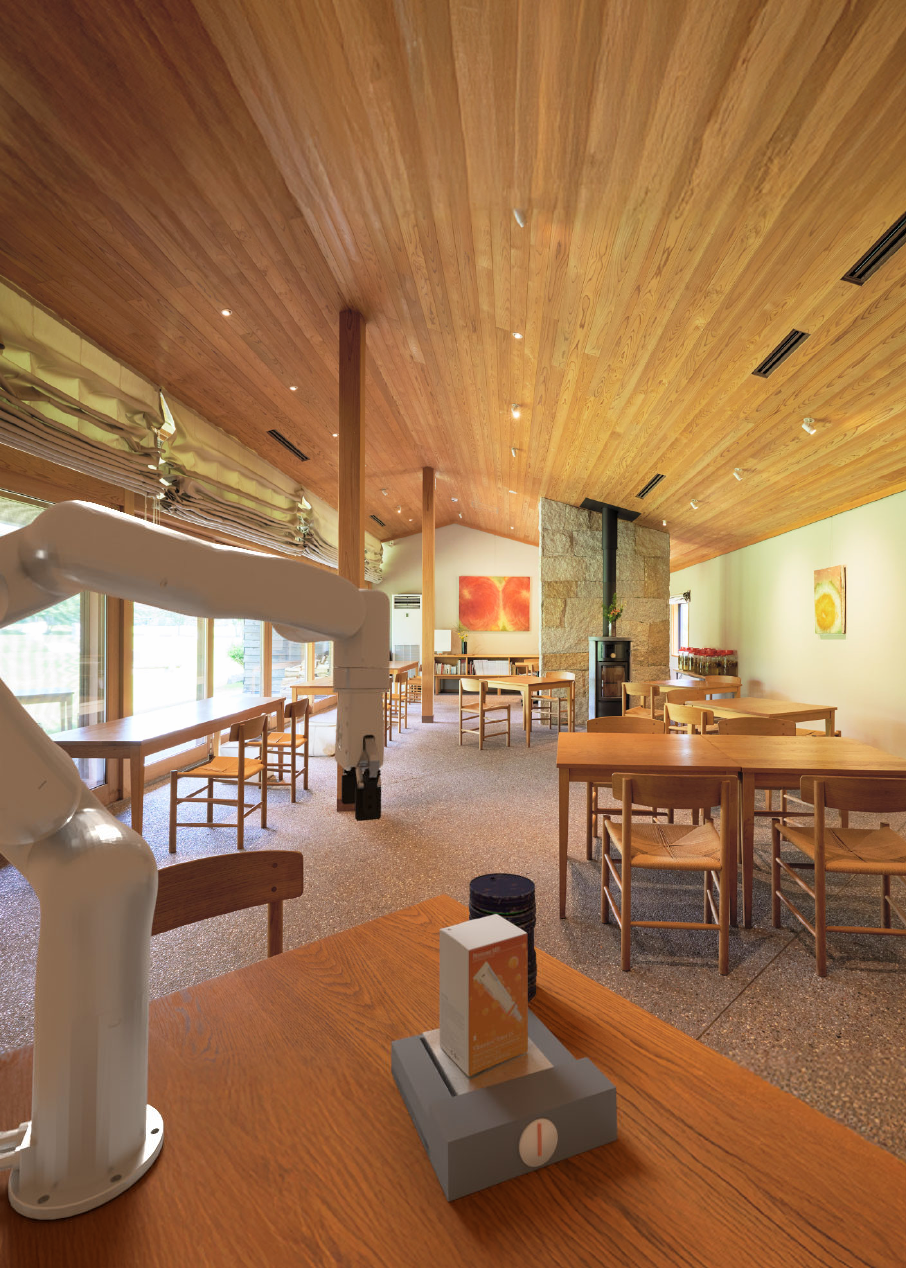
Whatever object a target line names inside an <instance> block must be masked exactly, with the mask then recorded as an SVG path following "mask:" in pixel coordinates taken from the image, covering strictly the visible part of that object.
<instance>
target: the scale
mask: <svg viewBox="0 0 906 1268" xmlns="http://www.w3.org/2000/svg"><path fill="white" fill-rule="evenodd" d="M528 1037H529V1038H530V1039H531V1040H532V1042H533V1043H534V1044H535V1045H536V1046H537V1047H538V1049H539V1050H540V1051H541V1052H542V1053H543V1054H544V1056H545V1057H546V1058H547V1059H548V1060H549V1061H550V1063H551V1064H552V1065H553V1066H554V1067H551V1068H548V1069H545V1070H541V1071H538V1072H535V1073H531V1074H528V1075H524V1076H521V1077H518V1078H514V1079H511V1080H508V1081H504V1082H501V1083H498V1084H494V1085H491V1086H488V1087H484V1088H481V1089H477V1090H474V1091H471V1092H467V1093H464V1094H461V1095H457V1096H454V1097H452V1096H451V1094H450V1092H449V1091H448V1089H447V1087H446V1085H445V1083H444V1082H443V1080H442V1078H441V1076H440V1074H439V1073H438V1071H437V1069H436V1067H435V1065H434V1064H433V1062H432V1060H431V1058H430V1056H429V1055H428V1053H427V1051H426V1049H425V1048H424V1046H423V1033H420V1034H416V1035H412V1036H407V1037H404V1038H400V1039H396V1040H392V1041H391V1042H390V1044H391V1045H390V1052H391V1056H390V1057H391V1058H390V1059H391V1060H390V1061H391V1062H390V1065H391V1067H390V1068H391V1070H390V1072H391V1073H390V1074H392V1078H393V1080H394V1082H395V1084H396V1087H397V1089H398V1091H399V1093H400V1096H401V1097H402V1099H403V1100H402V1101H403V1104H404V1105H405V1107H406V1109H407V1111H408V1114H409V1116H410V1119H411V1120H412V1123H413V1125H414V1127H415V1131H416V1132H417V1135H418V1136H419V1138H420V1140H421V1144H422V1146H423V1148H424V1150H425V1152H426V1154H427V1157H428V1159H429V1161H430V1164H431V1166H432V1168H433V1171H434V1172H435V1175H436V1177H437V1180H438V1182H439V1184H440V1186H441V1189H442V1190H443V1194H444V1195H445V1198H446V1200H447V1202H448V1203H449V1202H452V1201H454V1200H455V1201H456V1200H457V1199H460V1198H462V1197H465V1196H467V1195H468V1196H469V1195H471V1194H473V1193H474V1194H475V1193H476V1192H480V1191H482V1190H484V1189H487V1188H490V1187H493V1186H495V1185H498V1184H501V1183H504V1182H507V1181H508V1180H512V1179H514V1178H517V1177H520V1176H523V1175H525V1174H528V1173H531V1172H534V1171H536V1170H539V1169H542V1168H545V1167H547V1166H550V1165H553V1164H555V1163H559V1162H560V1161H564V1160H566V1159H569V1158H572V1157H574V1156H577V1155H579V1154H580V1155H581V1154H582V1153H585V1152H588V1151H591V1150H593V1149H597V1148H598V1147H601V1146H605V1145H607V1144H610V1143H612V1142H615V1141H617V1140H618V1114H617V1113H618V1109H617V1108H618V1107H617V1106H618V1104H617V1086H616V1085H614V1084H613V1082H612V1081H611V1080H610V1079H609V1078H608V1077H607V1076H606V1075H605V1074H604V1073H603V1072H602V1071H601V1070H600V1069H599V1068H598V1067H597V1066H596V1064H594V1062H593V1061H592V1060H590V1059H589V1057H588V1056H586V1057H582V1058H579V1059H576V1058H575V1056H574V1055H573V1054H572V1053H571V1052H570V1051H569V1050H568V1049H567V1048H566V1047H565V1045H564V1044H563V1043H562V1042H561V1041H560V1040H559V1039H558V1038H557V1037H556V1036H555V1035H554V1034H553V1033H552V1032H551V1031H550V1029H548V1027H547V1026H546V1025H545V1024H544V1023H543V1022H542V1021H541V1020H540V1018H538V1017H537V1016H536V1014H535V1013H533V1011H532V1010H531V1009H530V1008H529V1007H528Z"/></svg>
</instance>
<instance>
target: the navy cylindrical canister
mask: <svg viewBox="0 0 906 1268" xmlns="http://www.w3.org/2000/svg"><path fill="white" fill-rule="evenodd" d="M468 887H469V890H468V891H469V894H468V895H469V900H468V912H469V915H468V921H469V920H474V919H479V918H483V917H487V916H491V915H494V914H498V915H499V916H501V917H502V918H504V919H506V920H507V921H509V922H510V923H512V924H514V925H515V926H517V927H518V928H520V929H522V930H523V931H525V932H526V933H527V955H528V1004H529V1003H530V1001H531V1000H532V999H533V998H534V997H535V998H536V996H535V995H537V993H536V990H538V989H537V984H536V983H537V976H538V964H537V952H536V951H537V950H536V948H535V928H536V923H537V916H536V914H537V903H536V894H535V893H536V884H535V882H534V881H533V880H532V879H530V878H528V877H526V876H524V875H523V876H522V875H519V874H515V873H509V872H508V873H505V872H494V873H486V874H482V875H478V876H476V877H473V878H472V879H471V880H470V881H469V885H468ZM535 998H534V999H535ZM534 999H533V1000H534ZM533 1000H532V1001H533ZM532 1001H531V1002H532Z"/></svg>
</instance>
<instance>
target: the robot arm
mask: <svg viewBox="0 0 906 1268" xmlns="http://www.w3.org/2000/svg"><path fill="white" fill-rule="evenodd" d="M85 591H89V592H92V593H97V594H99V595H105V596H107V597H111V598H116V599H122V600H125V601H130V602H133V603H138V604H142V605H145V606H149V607H153V608H158V609H160V610H163V611H168V612H172V613H176V614H179V615H183V616H187V617H195V618H202V619H203V618H204V619H212V620H214V619H215V620H224V619H225V620H228V619H229V620H231V619H232V620H233V619H235V620H250V621H259V622H266V623H270V624H271V626H272V628H273V629H274V630H275V632H276V633H277V635H279V636H280V637H282V638H284V639H285V640H288V641H289V642H293V643H297V644H298V643H299V644H308V643H309V644H310V643H319V642H333V647H332V648H333V649H332V650H333V652H332V654H333V655H332V656H333V657H332V659H333V661H332V662H333V663H332V664H333V665H332V666H333V668H332V670H333V671H332V693H333V694H338V699H337V700H338V701H337V710H336V725H335V727H336V729H335V745H334V746H335V747H334V761H335V762H336V763H337V764H338V765H340V767H342V769H341V771H342V774H341V798H340V799H341V801H340V802H341V803H342V805H354V819H355V820H356V821H357V822H364V821H375V820H380V819H381V817H382V779H381V776H382V773H381V769H380V768H382V766H383V765H384V759H385V758H384V757H385V755H384V754H385V720H384V717H385V716H384V714H385V713H384V709H385V707H384V700H383V699H384V697H383V694H386V693H387V694H388V693H390V677H391V676H390V668H391V667H390V650H391V649H390V647H391V646H390V645H391V642H390V640H391V628H390V627H391V602H390V599H389V596H388V594H387V593H385V592H384V591H381V590H380V589H379V590H378V589H370V588H358V587H357V586H356V585H355V584H354V583H353V582H351V581H350V580H349V579H347V578H345V577H343V576H341V575H339V574H337V573H334V572H331V571H327V570H324V569H322V568H319V567H317V566H313V565H312V564H311V565H310V564H308V563H306V562H302V561H299V560H295V559H291V558H287V557H282V556H278V555H273V554H267V553H263V552H258V551H253V550H247V549H244V548H239V547H233V546H230V545H229V546H228V545H222V544H217V543H213V542H210V541H207V540H204V539H200V538H197V537H194V536H191V535H189V534H186V533H182V532H180V531H178V530H177V531H176V530H174V529H171V528H168V527H165V526H162V525H158V524H156V523H152V522H150V521H147V520H144V519H142V518H138V517H135V516H133V515H130V514H127V513H124V512H120V511H118V510H115V509H111V508H109V507H105V506H103V505H99V504H96V503H92V502H89V501H88V502H86V501H82V500H66V501H65V500H64V501H60V502H57V503H55V504H53V505H50V506H49V507H47V508H46V509H45V510H43V511H41V513H40V514H38V515H37V516H36V517H35V518H34V520H33V521H32V522H31V523H29V524H27V525H25V526H23V527H19V528H18V529H16V530H12V532H9V533H5V534H2V535H1V536H0V630H1V629H4V628H6V627H8V626H10V625H12V624H15V623H18V622H19V621H22V620H24V619H27V618H29V617H32V616H33V615H36V614H38V613H40V612H43V611H44V610H47V609H50V608H51V607H54V606H56V605H58V604H60V603H62V602H64V601H67V600H68V599H70V598H72V597H74V596H76V595H79V594H81V593H84V592H85ZM0 854H1V855H2V856H3V857H4V858H5V859H6V861H8V863H10V865H12V866H13V867H14V869H15V870H17V872H18V873H20V874H21V876H23V878H24V879H25V880H26V881H27V882H28V883H29V885H30V886H31V887H32V888H33V891H34V893H35V895H36V898H37V899H38V901H39V910H40V911H39V913H40V919H39V920H40V922H39V923H40V925H39V935H38V944H37V945H38V946H37V954H36V963H35V964H36V965H35V966H36V967H35V981H34V1006H33V1007H34V1020H33V1021H34V1023H33V1052H32V1053H33V1057H32V1087H31V1092H32V1093H31V1118H30V1120H28V1121H26V1122H25V1121H24V1122H21V1123H20V1124H19V1126H18V1127H17V1128H14V1129H9V1130H6V1131H0V1172H2V1171H7V1170H10V1169H11V1171H10V1173H9V1179H8V1185H7V1187H8V1190H7V1192H8V1201H9V1202H10V1206H11V1207H12V1208H13V1209H14V1210H15V1211H16V1212H17V1213H18V1214H20V1215H21V1216H25V1217H26V1218H30V1219H36V1220H56V1219H57V1220H59V1219H62V1218H69V1217H73V1216H76V1215H80V1214H82V1213H85V1212H88V1211H91V1210H93V1209H95V1208H97V1207H100V1206H102V1205H104V1204H105V1203H107V1202H109V1201H111V1200H113V1199H114V1198H117V1196H119V1195H121V1194H122V1193H123V1192H124V1191H126V1190H128V1189H130V1188H131V1186H132V1185H134V1184H135V1183H136V1182H137V1181H138V1180H139V1179H140V1178H142V1176H144V1175H145V1174H146V1173H147V1171H148V1170H149V1168H151V1167H152V1166H153V1163H154V1162H155V1160H156V1159H157V1158H158V1156H159V1155H160V1151H161V1150H162V1146H163V1144H164V1138H165V1137H164V1136H165V1135H164V1134H165V1131H164V1130H165V1124H164V1120H163V1116H162V1115H161V1113H160V1112H159V1111H158V1110H157V1109H155V1108H154V1107H153V1106H151V1105H150V1104H148V1081H149V1080H148V1077H149V1076H148V1075H149V1033H150V1032H149V1025H150V1021H149V1020H150V968H151V967H150V966H151V944H152V943H151V941H152V929H153V928H152V927H153V920H154V915H155V909H156V902H157V897H158V888H159V870H158V865H157V864H158V863H157V861H156V857H155V854H154V852H153V850H152V848H151V847H150V845H149V843H148V842H147V841H146V839H144V837H143V836H142V835H141V834H140V833H138V832H137V831H136V830H134V829H133V828H131V827H130V826H128V825H127V824H126V823H124V822H122V821H120V820H119V819H117V817H115V816H114V815H113V814H112V813H111V812H110V811H109V810H108V808H106V806H105V805H104V804H103V803H102V801H100V799H99V798H98V797H97V796H96V795H95V794H94V792H92V790H91V789H90V787H88V785H87V784H86V783H85V782H84V781H83V779H82V778H81V775H80V772H79V769H78V766H77V765H76V764H75V761H74V759H73V757H71V756H70V755H69V753H68V752H67V751H65V750H64V749H63V748H62V747H61V746H60V745H59V744H57V743H56V742H55V741H54V740H53V739H52V738H51V736H49V735H48V733H46V732H45V730H44V729H43V728H42V727H41V726H40V725H39V724H38V723H37V721H35V719H34V718H33V717H32V716H31V715H30V713H29V712H28V711H27V710H26V709H25V707H24V706H23V705H22V704H21V702H20V701H19V700H18V698H17V697H16V696H15V694H14V693H13V691H12V690H11V689H10V688H9V687H8V685H7V684H6V683H5V681H3V679H2V678H1V677H0Z"/></svg>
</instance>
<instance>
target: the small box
mask: <svg viewBox="0 0 906 1268" xmlns="http://www.w3.org/2000/svg"><path fill="white" fill-rule="evenodd" d="M438 1007H439V1028H440V1047H441V1048H442V1049H443V1050H444V1051H445V1052H446V1053H447V1054H448V1055H449V1056H450V1058H451V1059H452V1060H453V1061H454V1062H455V1063H456V1064H457V1065H458V1066H459V1067H460V1068H461V1069H462V1070H463V1071H464V1072H465V1073H466V1074H467V1076H472V1075H474V1074H476V1073H478V1072H480V1071H482V1070H484V1069H487V1068H489V1067H492V1066H494V1065H496V1064H499V1063H501V1062H503V1061H506V1060H508V1059H511V1058H513V1057H515V1056H518V1055H520V1054H524V1053H526V1052H527V1051H528V1008H529V1003H528V955H527V933H526V932H525V931H523V930H522V929H520V928H518V927H517V926H515V925H514V924H512V923H510V922H509V921H507V920H506V919H504V918H502V917H501V916H499V915H498V914H494V915H491V916H487V917H483V918H479V919H474V920H469V919H468V920H467V921H464V922H463V921H462V922H460V923H457V924H454V925H451V926H447V927H443V928H440V929H439V1005H438Z"/></svg>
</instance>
